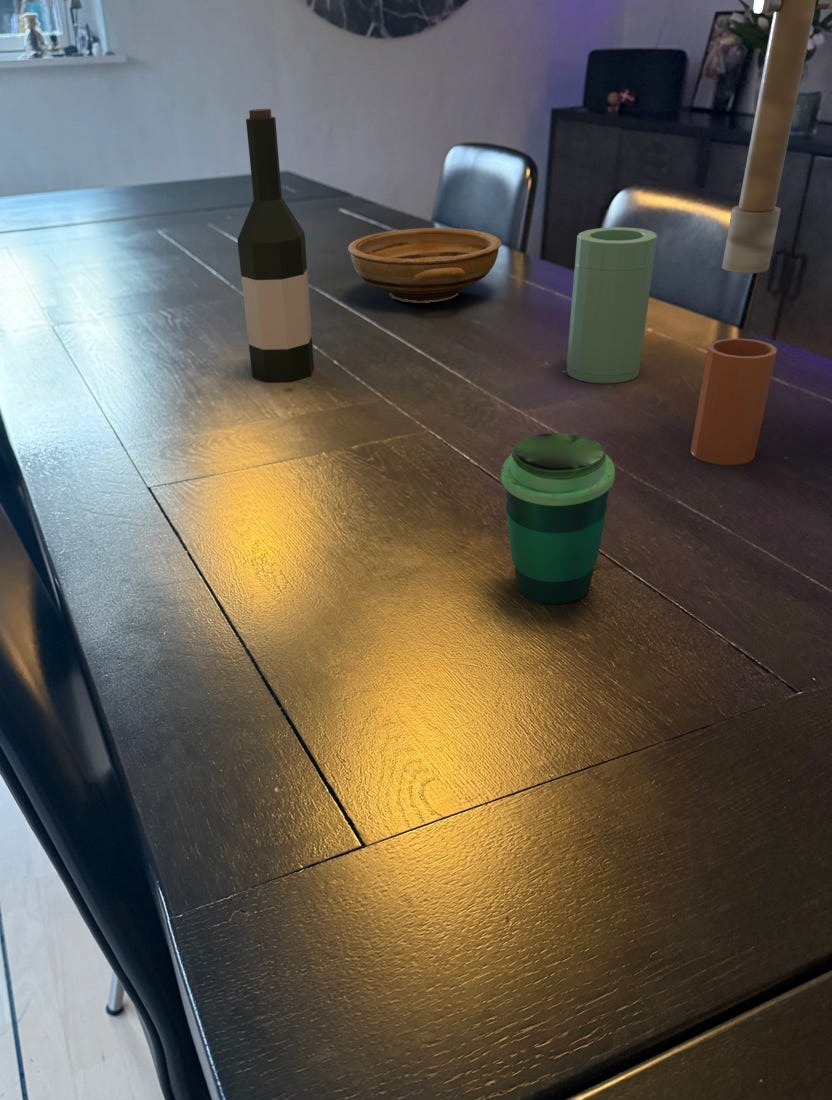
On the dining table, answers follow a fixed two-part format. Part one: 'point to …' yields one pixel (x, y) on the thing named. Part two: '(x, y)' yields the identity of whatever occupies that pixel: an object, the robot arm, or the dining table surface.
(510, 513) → the cup
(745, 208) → the wooden rod
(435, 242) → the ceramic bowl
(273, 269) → the wine bottle
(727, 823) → the dining table surface
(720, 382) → the cup
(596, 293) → the mint green tube
